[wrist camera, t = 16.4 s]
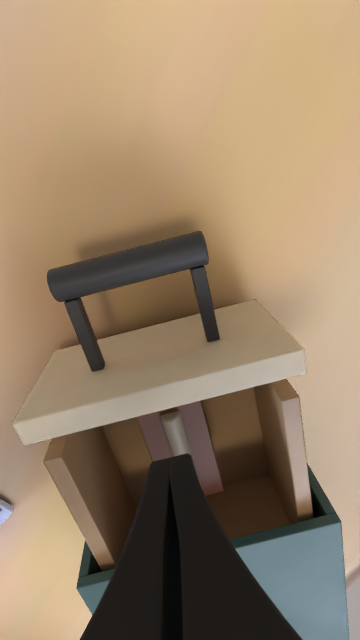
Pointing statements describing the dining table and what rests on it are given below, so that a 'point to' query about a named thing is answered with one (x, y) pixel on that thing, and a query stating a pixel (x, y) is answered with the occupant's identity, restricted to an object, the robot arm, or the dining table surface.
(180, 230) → the dining table surface
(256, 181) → the dining table surface
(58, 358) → the drawer
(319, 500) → the cabinet
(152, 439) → the dark brown chunk
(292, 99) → the dining table surface
